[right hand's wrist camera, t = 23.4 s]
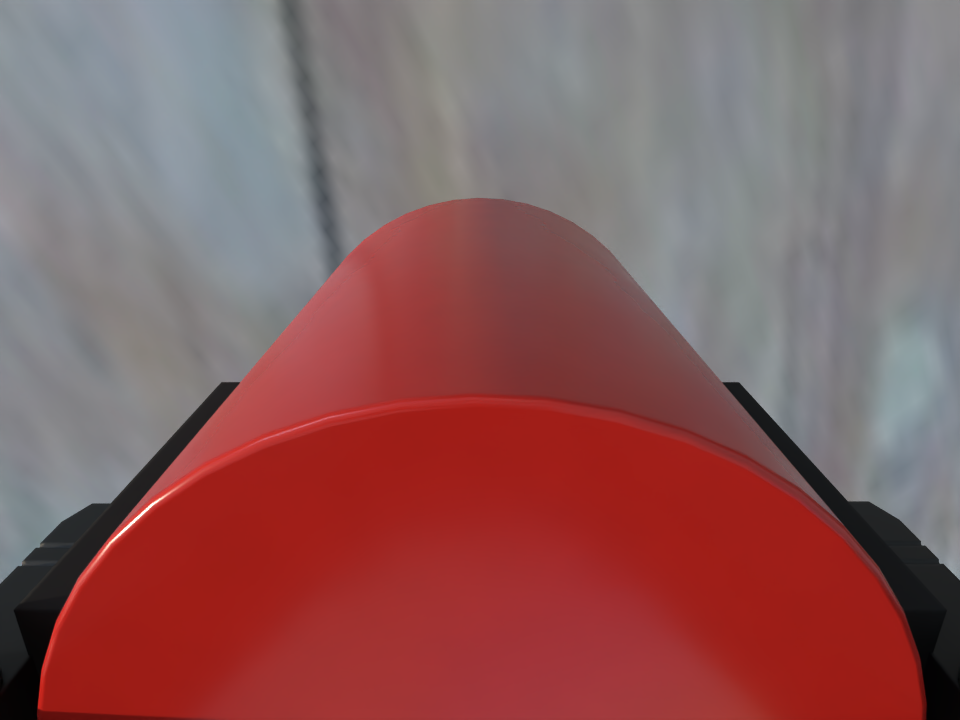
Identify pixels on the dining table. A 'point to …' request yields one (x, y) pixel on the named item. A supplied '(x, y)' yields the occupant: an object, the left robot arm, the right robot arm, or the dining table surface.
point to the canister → (481, 518)
